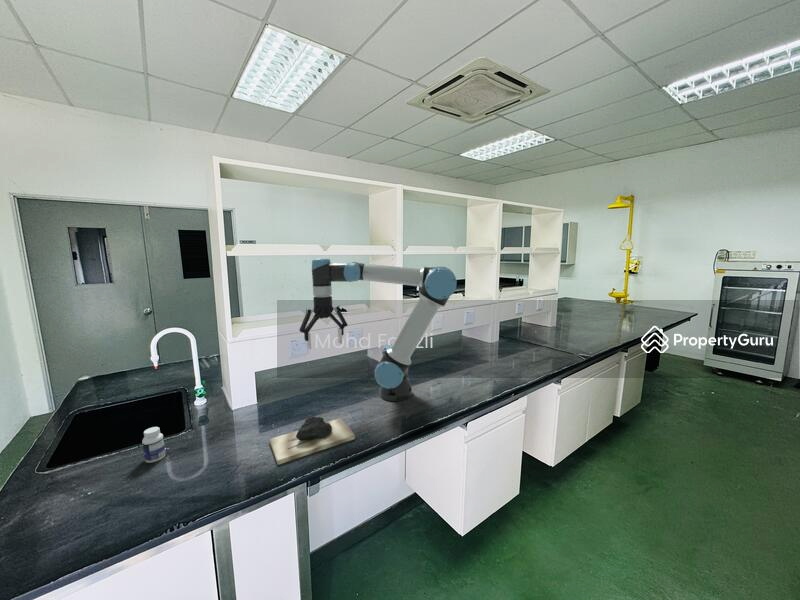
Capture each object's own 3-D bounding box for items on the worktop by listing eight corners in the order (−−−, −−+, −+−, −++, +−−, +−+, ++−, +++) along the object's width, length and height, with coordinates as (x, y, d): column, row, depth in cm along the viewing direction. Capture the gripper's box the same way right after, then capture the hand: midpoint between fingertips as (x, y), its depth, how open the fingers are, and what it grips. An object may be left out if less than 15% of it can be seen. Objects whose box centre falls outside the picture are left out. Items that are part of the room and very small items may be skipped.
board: (340, 421, 124) (340, 418, 124) (355, 438, 112) (354, 434, 112) (269, 442, 110) (269, 438, 110) (277, 464, 99) (277, 460, 98)
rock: (333, 430, 117) (308, 422, 118) (335, 418, 114) (309, 410, 116) (321, 453, 107) (294, 444, 108) (323, 440, 105) (295, 431, 106)
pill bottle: (143, 458, 103) (139, 430, 102) (164, 450, 107) (160, 423, 105) (145, 465, 99) (142, 436, 98) (166, 457, 103) (163, 429, 102)
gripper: (346, 292, 142) (348, 339, 145) (289, 297, 129) (292, 348, 132) (353, 294, 136) (355, 342, 139) (294, 299, 122) (297, 352, 125)
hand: (325, 345), depth 135 cm, fingers open, 13 cm apart
